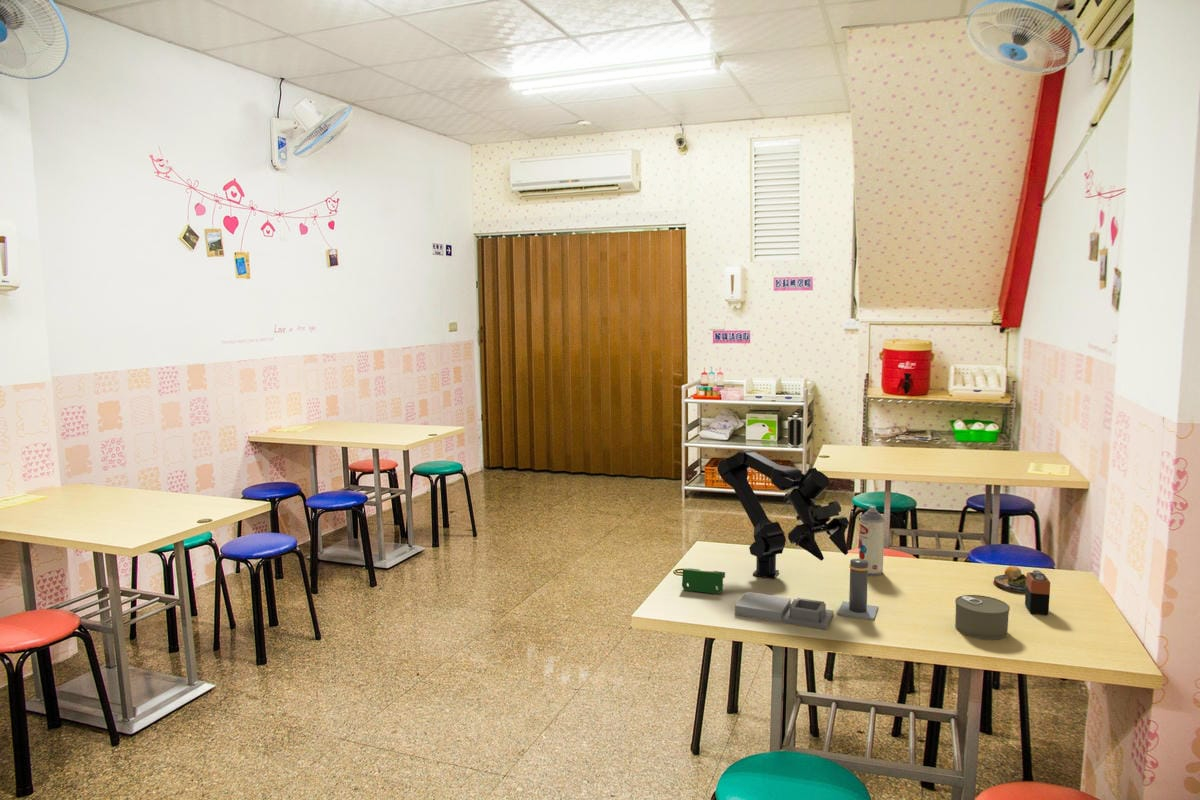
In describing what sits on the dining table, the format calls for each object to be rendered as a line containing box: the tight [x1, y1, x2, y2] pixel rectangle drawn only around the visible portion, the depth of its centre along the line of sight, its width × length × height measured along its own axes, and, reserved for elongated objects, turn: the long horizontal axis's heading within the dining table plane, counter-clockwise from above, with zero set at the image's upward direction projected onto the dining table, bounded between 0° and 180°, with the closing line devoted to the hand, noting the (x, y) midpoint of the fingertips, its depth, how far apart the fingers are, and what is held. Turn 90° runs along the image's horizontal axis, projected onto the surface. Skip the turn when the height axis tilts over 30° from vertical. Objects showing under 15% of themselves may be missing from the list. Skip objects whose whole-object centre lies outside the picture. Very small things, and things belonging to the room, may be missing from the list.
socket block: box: [734, 591, 834, 630], centre depth 205 cm, size 11×23×4 cm, turn 64°
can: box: [954, 594, 1011, 641], centre depth 194 cm, size 12×12×7 cm
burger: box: [993, 564, 1026, 594], centre depth 224 cm, size 12×12×8 cm
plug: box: [848, 558, 869, 613], centre depth 206 cm, size 5×5×13 cm
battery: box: [1024, 569, 1051, 616], centre depth 206 cm, size 4×7×10 cm, turn 163°
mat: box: [836, 601, 879, 621], centre depth 207 cm, size 9×9×1 cm
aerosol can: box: [858, 505, 885, 577], centre depth 236 cm, size 7×7×20 cm
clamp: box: [681, 567, 726, 595], centre depth 224 cm, size 12×6×9 cm, turn 64°
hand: (834, 556), depth 212 cm, fingers open, 9 cm apart
